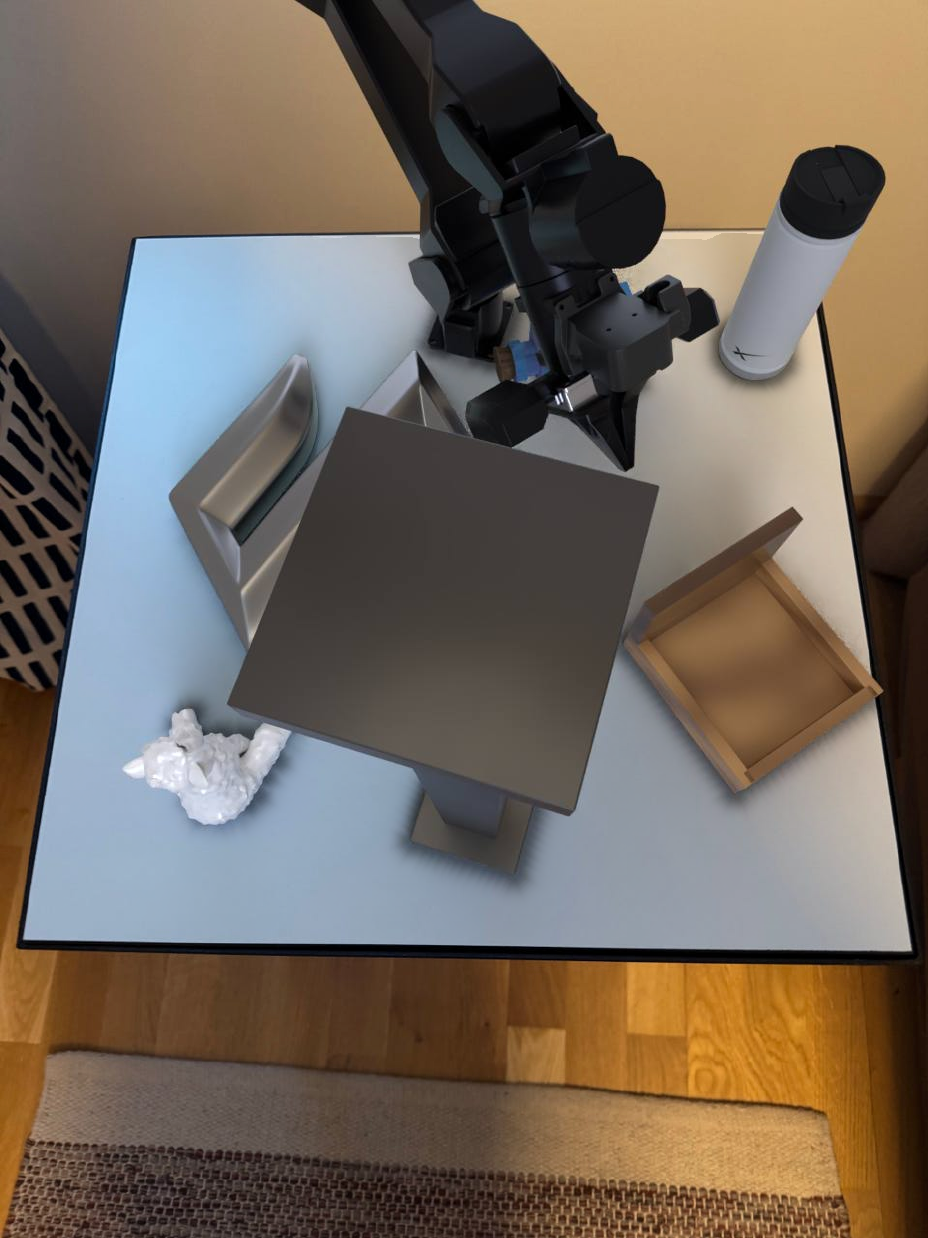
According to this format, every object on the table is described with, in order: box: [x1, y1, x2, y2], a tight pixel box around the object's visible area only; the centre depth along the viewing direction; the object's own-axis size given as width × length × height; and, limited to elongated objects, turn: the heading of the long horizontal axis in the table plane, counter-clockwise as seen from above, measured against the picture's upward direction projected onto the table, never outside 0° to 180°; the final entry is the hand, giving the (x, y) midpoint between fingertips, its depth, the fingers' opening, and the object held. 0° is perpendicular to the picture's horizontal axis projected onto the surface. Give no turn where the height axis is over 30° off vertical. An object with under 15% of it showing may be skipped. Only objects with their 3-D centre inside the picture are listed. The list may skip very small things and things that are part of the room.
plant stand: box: [226, 405, 660, 876], centre depth 41 cm, size 8×8×46 cm
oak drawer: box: [622, 506, 884, 794], centre depth 61 cm, size 14×13×10 cm
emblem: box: [168, 349, 472, 653], centre depth 68 cm, size 28×5×28 cm
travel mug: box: [718, 144, 887, 381], centre depth 65 cm, size 6×7×20 cm
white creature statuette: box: [122, 708, 293, 826], centre depth 59 cm, size 10×9×12 cm
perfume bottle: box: [492, 280, 633, 383], centre depth 72 cm, size 6×6×12 cm
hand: (626, 468), depth 64 cm, fingers closed
